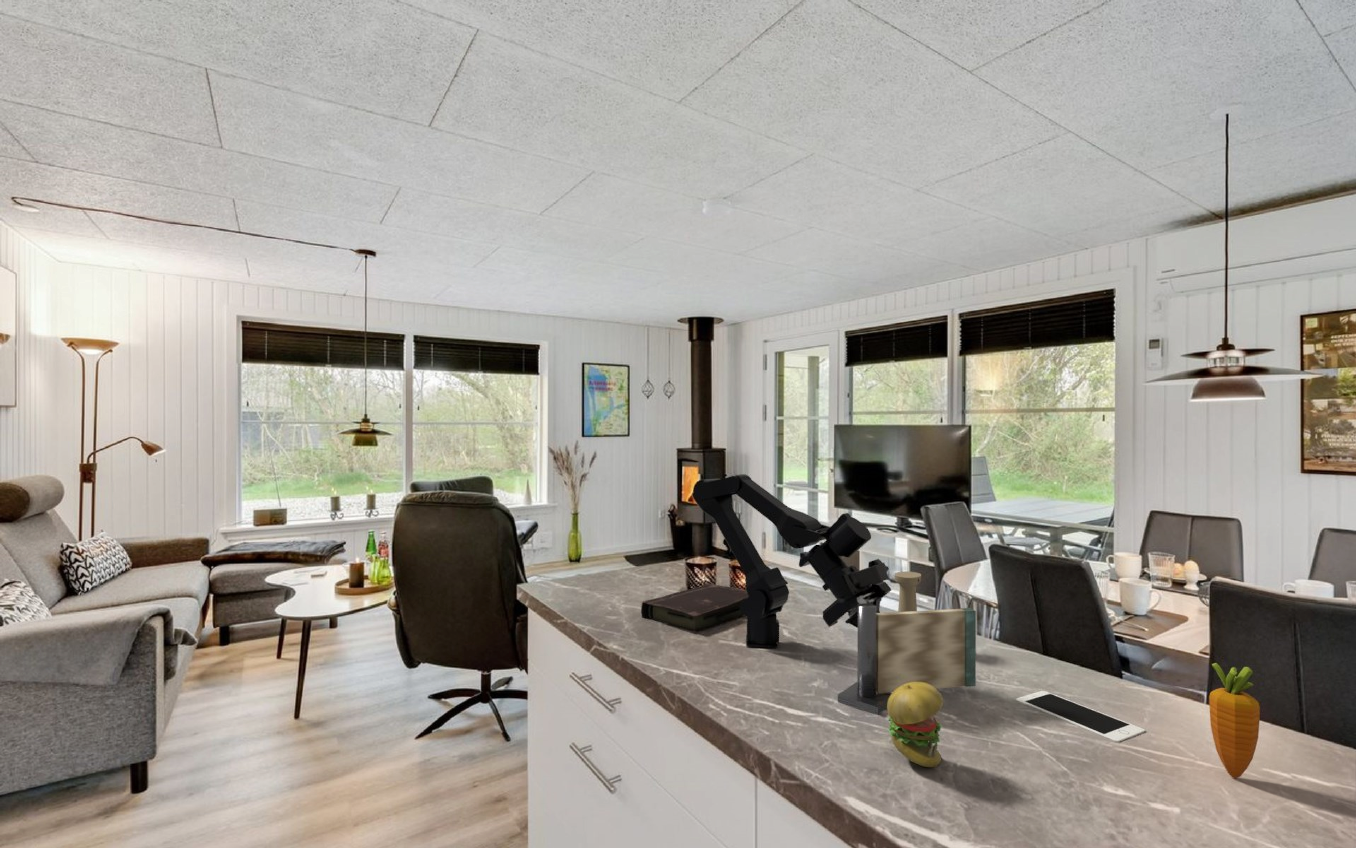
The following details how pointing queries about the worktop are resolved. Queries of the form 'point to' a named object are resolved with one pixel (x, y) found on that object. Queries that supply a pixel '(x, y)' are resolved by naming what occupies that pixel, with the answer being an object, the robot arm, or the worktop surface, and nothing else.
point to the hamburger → (915, 722)
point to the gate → (926, 648)
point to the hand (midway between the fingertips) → (888, 641)
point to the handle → (907, 590)
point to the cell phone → (1081, 716)
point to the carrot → (1234, 720)
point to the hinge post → (865, 667)
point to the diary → (696, 607)
